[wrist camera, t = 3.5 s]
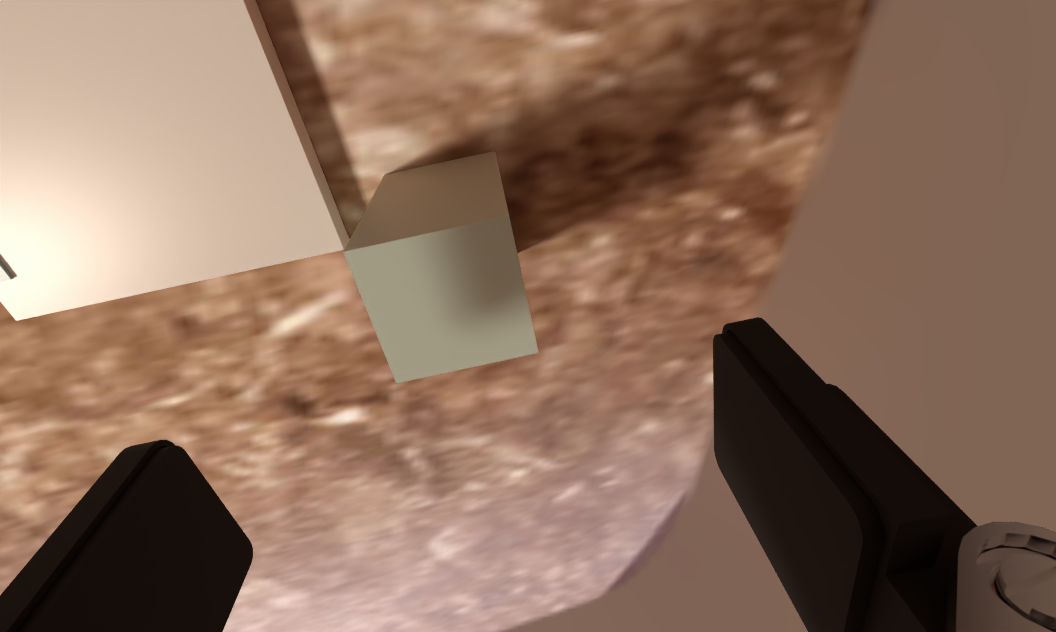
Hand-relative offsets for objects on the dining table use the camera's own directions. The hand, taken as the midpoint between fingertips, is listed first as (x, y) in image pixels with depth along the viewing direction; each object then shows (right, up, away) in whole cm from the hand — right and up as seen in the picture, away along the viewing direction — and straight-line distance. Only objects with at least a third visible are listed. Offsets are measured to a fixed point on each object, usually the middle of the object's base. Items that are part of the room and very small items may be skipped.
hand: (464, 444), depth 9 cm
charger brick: (-2, +6, +10) cm, 12 cm away
